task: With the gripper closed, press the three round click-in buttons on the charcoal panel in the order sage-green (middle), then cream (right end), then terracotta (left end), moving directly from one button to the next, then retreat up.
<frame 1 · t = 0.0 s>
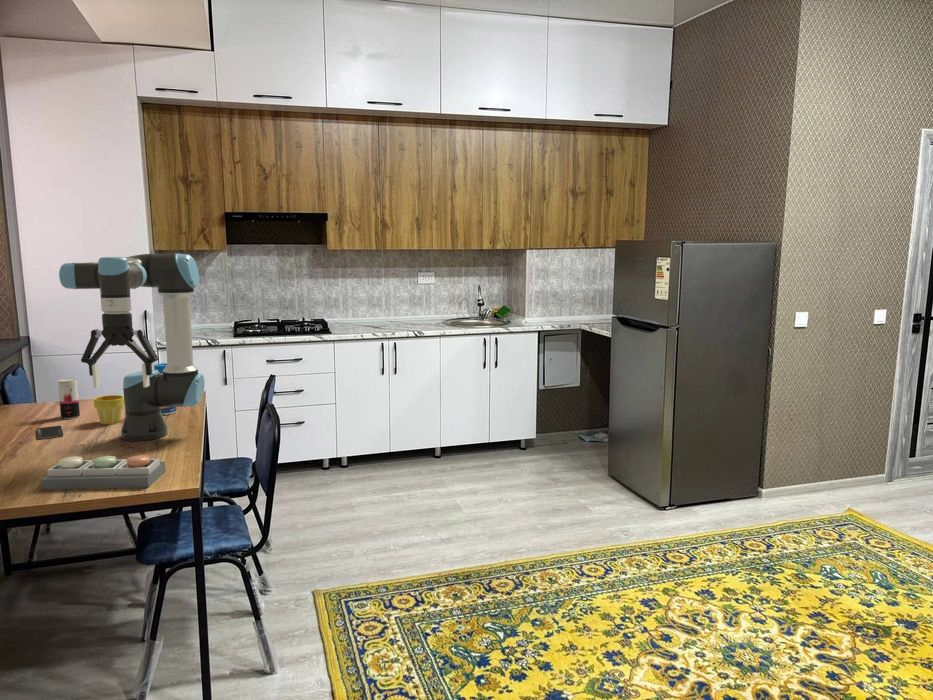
hand: (122, 386, 199), 28 cm above the table, fingers open, 13 cm apart
plant pot: (110, 422, 268), on the table
button panel: (106, 480, 203), on the table
terracotta button: (138, 461, 203), point 5 cm above the table, slide at 0.0 cm
cream button: (70, 462, 202), point 5 cm above the table, slide at 0.0 cm
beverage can: (70, 417, 276), on the table
sage button: (104, 462, 203), point 5 cm above the table, slide at 0.0 cm
beverage bottle: (166, 413, 283), on the table
phone: (50, 434, 252), on the table
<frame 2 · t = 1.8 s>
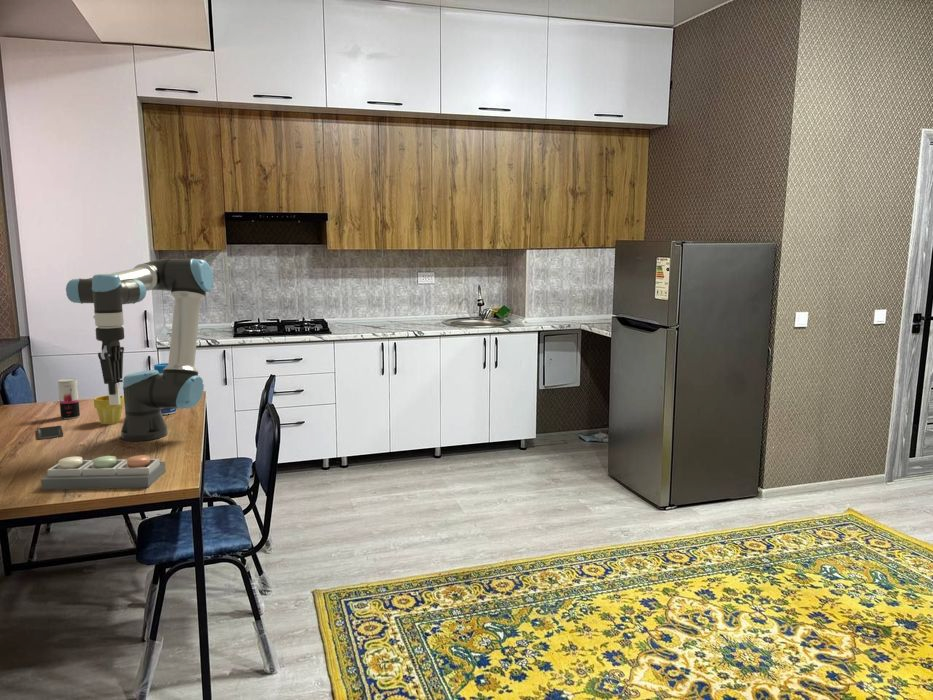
hand: (115, 404, 210), 20 cm above the table, fingers closed
nothing on the table moved.
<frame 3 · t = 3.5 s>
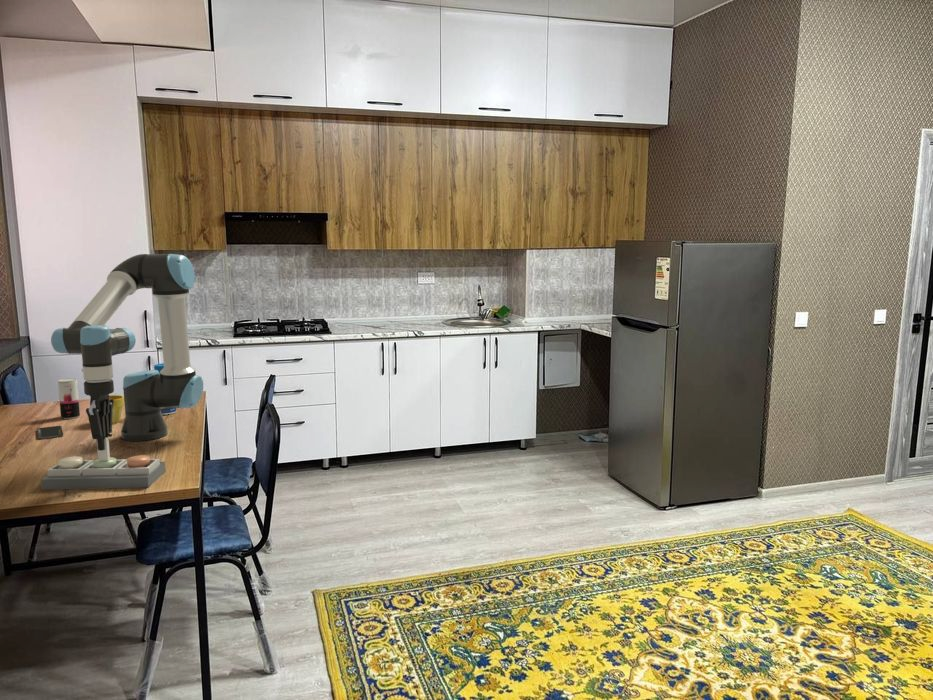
hand: (104, 459, 202), 6 cm above the table, fingers closed
sage button: (104, 463, 203), point 5 cm above the table, slide at 0.4 cm, touching gripper
everything else where it was.
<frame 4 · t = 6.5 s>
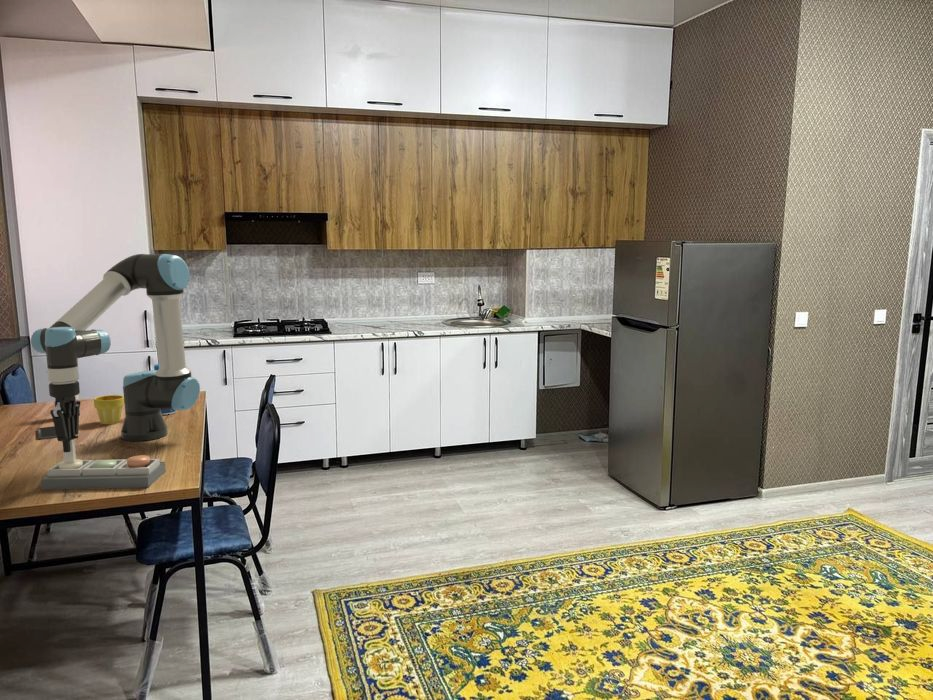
hand: (70, 461, 202), 6 cm above the table, fingers closed
cream button: (70, 465, 202), point 5 cm above the table, slide at 0.8 cm, touching gripper
sage button: (105, 465, 203), point 4 cm above the table, slide at 1.1 cm
everything else where it was.
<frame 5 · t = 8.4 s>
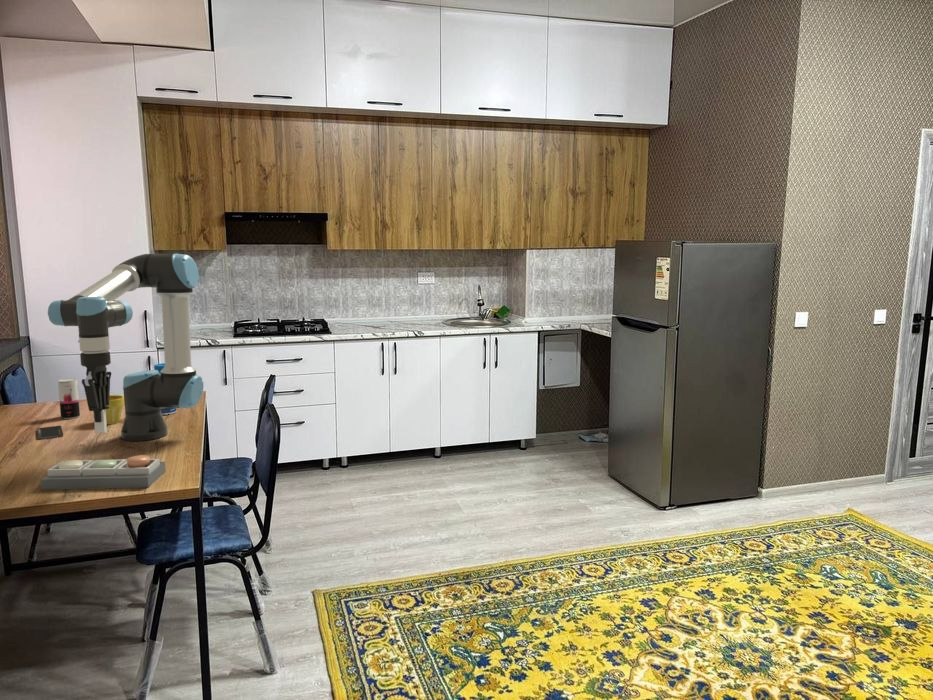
hand: (101, 432, 201), 15 cm above the table, fingers closed
cream button: (71, 466, 202), point 4 cm above the table, slide at 1.1 cm
everything else where it was.
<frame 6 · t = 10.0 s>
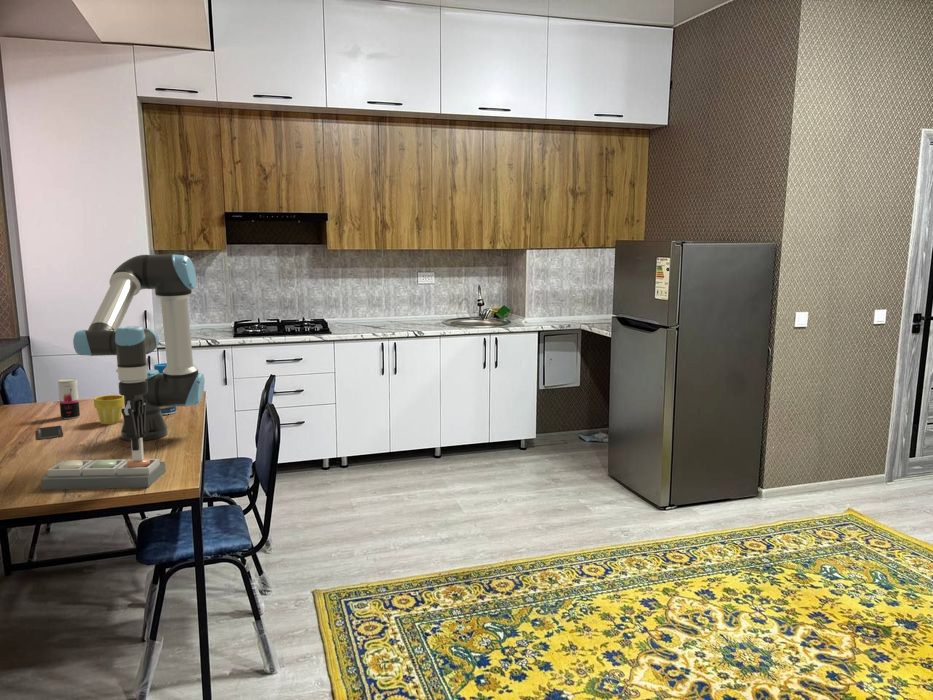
hand: (138, 459, 203), 6 cm above the table, fingers closed
terracotta button: (138, 463, 203), point 5 cm above the table, slide at 0.7 cm, touching gripper
everything else where it was.
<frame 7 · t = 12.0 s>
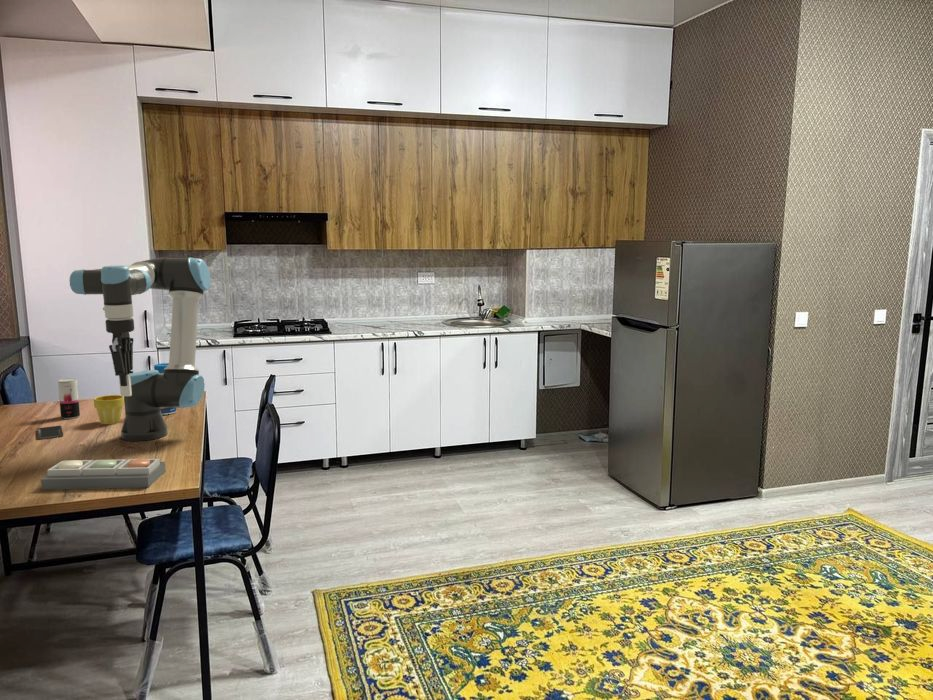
hand: (126, 395, 211), 23 cm above the table, fingers closed
terracotta button: (138, 465, 203), point 4 cm above the table, slide at 1.1 cm
everything else where it was.
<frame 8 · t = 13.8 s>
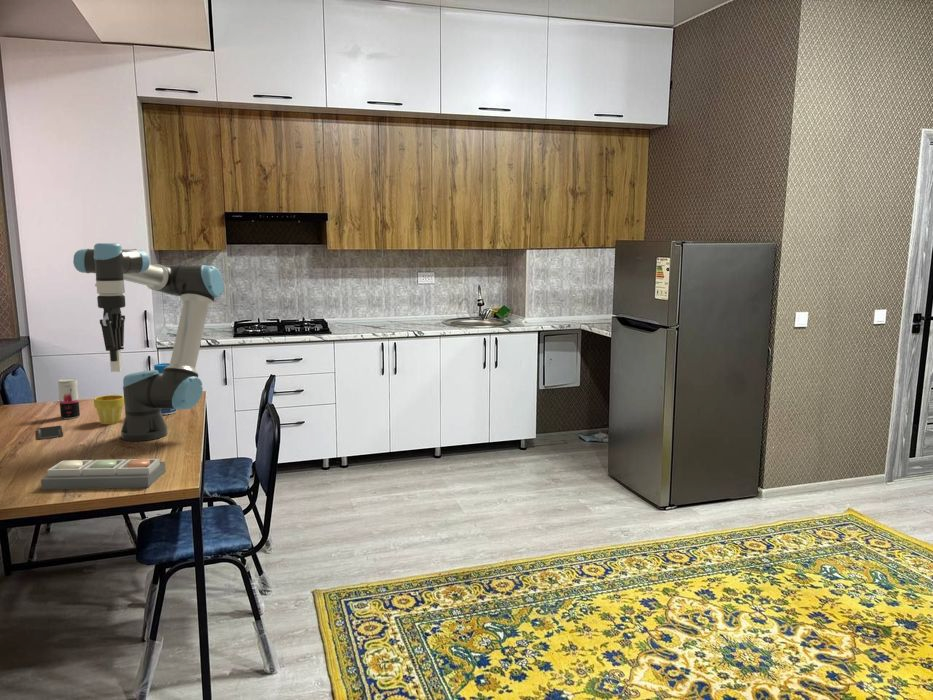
hand: (116, 371, 215), 29 cm above the table, fingers closed
nothing on the table moved.
at the end: sage button slide at 1.1 cm; cream button slide at 1.1 cm; terracotta button slide at 1.1 cm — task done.
